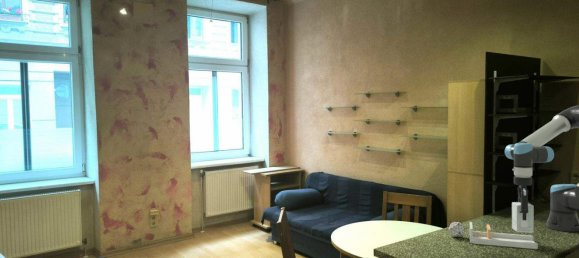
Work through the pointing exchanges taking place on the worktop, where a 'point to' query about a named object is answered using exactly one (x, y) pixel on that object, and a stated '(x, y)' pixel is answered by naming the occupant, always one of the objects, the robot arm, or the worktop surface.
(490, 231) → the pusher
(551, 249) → the worktop surface
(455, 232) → the game die
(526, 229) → the supplement box
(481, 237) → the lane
